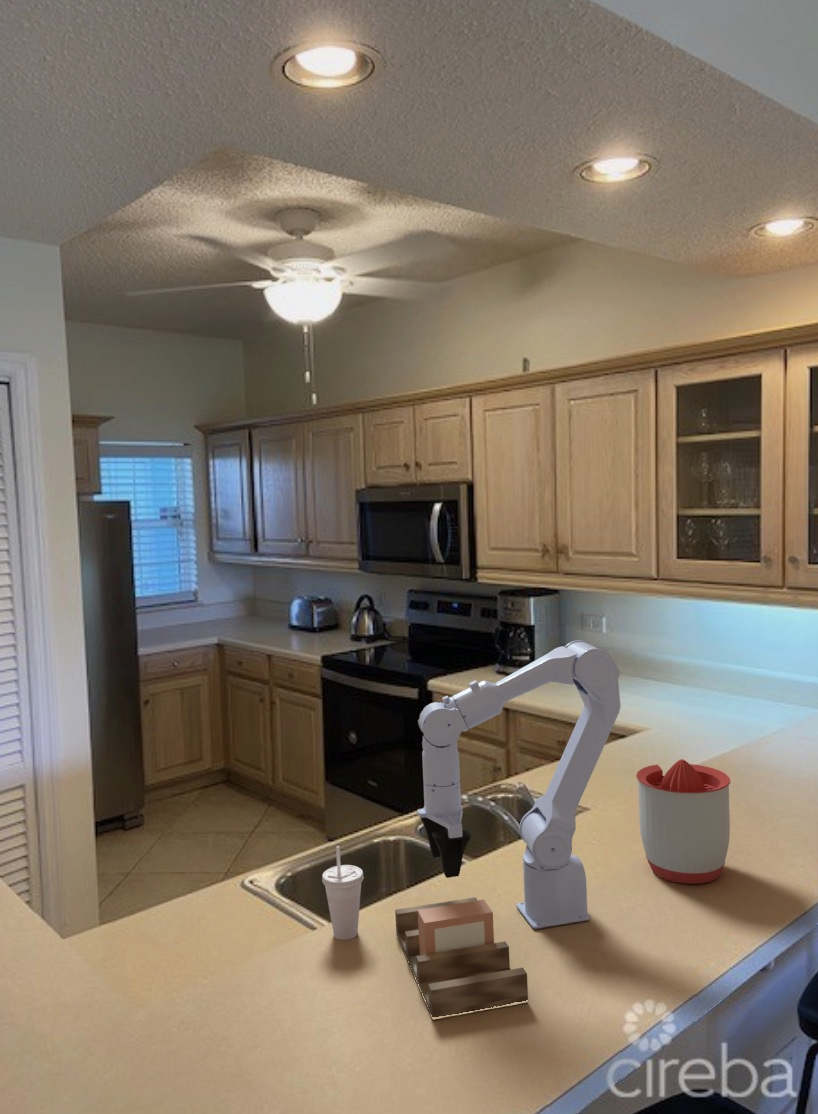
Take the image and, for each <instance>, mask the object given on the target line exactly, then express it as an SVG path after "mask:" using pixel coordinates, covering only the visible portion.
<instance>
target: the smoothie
mask: <svg viewBox="0 0 818 1114" xmlns="http://www.w3.org/2000/svg"><path fill="white" fill-rule="evenodd" d="M340 848H341V847H340V845H336V846H335V851H336V853H335V854H336V865H335V866H331V867H330V868H328V869H326V870H325V871H323V873H322V880H321V882H322V884H323V885H324V886H325V892H326V893H325V894H326V899H327V903H328V904H327V905H328V910H329V915H330V916H329V917H330V921H331V925H332V926H331V927H332V931H333V932H332V933H333V937H334V938H335V939H336V940H341V941H347V940H351V939H354V938H356V936H357V935H358V931H359V918H360V903H361V892H362V891H361V889H362V882H363V881H364V872H363V869H362V868H360V867H359V866H356V865H352V864H342V865H341V849H340Z"/></svg>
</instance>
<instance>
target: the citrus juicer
mask: <svg viewBox="0 0 818 1114" xmlns="http://www.w3.org/2000/svg"><path fill="white" fill-rule="evenodd" d="M635 777H636V779H637V787H638V788H637V789H638V794H637V795H638V818H639V819H638V821H639V831H640V837H641V841H642V846H643V851H644V853H645V858H646V860H647V862H648V864H649V866H650V869H651V871H652V872H653V873H654V874H655V875H657V876H659V877H660V878H662V879H664V880H666V881H668V882H675V883H681V884H691V885H692V884H693V885H694V884H696V885H697V884H704V883H709V882H714V880H717V879H718V878H719V877H720V875H721V873H722V871H723V869H724V866H725V864H726V858H727V855H728V850H729V845H730V833H731V832H730V831H731V824H730V823H731V820H730V787H729V786H730V784H731V779H730V776H728V775H727V774H726V773H725V772H723V771H721V770H720V769H719V770H718V769H716V768H713V767H709V766H705V765H700V764H692V763H689V762H688V761H686V759H682V758H681V759H679V760H678V761H677V760H676V762H675V763H674V764H673V765H672V766H670V768H669V769H668V770H667V771H666V773H665V774H664V772H663V768H661V766H660V765H658V764H654V765H648V766H645V767H642V768H640V769H639V770H638V771H637V773H636V775H635Z"/></svg>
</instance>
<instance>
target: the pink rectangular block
mask: <svg viewBox="0 0 818 1114" xmlns="http://www.w3.org/2000/svg"><path fill="white" fill-rule="evenodd" d="M418 929H419V951H420V956H421V955H427V954H433V953H439V952H445V951H451V950H457V949H462V948H468V947H474V946H480V945H486V944H492V943H495V935H494V934H495V933H494V912H493V910H492V909H491V907H490V906H489V905H488V903H487V902H486V900H485V899H477V901H471V902H464V903H458V904H452V905H446V906H439V907H433V908H427V909H420V910H418Z"/></svg>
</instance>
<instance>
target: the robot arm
mask: <svg viewBox="0 0 818 1114" xmlns="http://www.w3.org/2000/svg"><path fill="white" fill-rule="evenodd" d="M620 676H621V671H620V669H619V668H618V666H617V664H616V662H615V660H614V658H613V657H612V655H611V653H609V652H607V651H606V650H604V649H601V648H597V647H596V646H594V645H592V644H590V643H589V642H588V641H585V640H579V639H578V640H572V641H570V642H568V643H567V644H566V645H564V646H563V645H562V646H559V647H555V648H554V649H551V651H549V652H547V653H546V654H545V655H543V656H541V657H539V658H537V659H535V660H534V661H532V662H530V663H529V664H527V665H525V666H522V667H521V668H520V669H518V670H516V671H515V672H513V673H511V674H509V675H507V676H505V677H504V678H502V679H500V680H498V681H496V682H490V681H489V680H481V681H479V682H478V681H477V680H475V679H474V680H473V681H471V682H469V683H468V686H469V687H468V688H465V689H464V690H461V691H460V692H458V693H456V694H454V695H452V696H450V697H449V696H448V695H445V696H443V697H442V698H441V700H442V702H437V701H435V702H431V703H429V704H428V705H426V706H424V708H423V710H421V712H420V713H419V719H418V720H417V723H418V727H419V729H420V731H421V733H423V735H422V742H421V745H422V753H421V755H422V756H421V757H422V758H421V759H422V778H423V779H422V780H423V800H424V801H423V802H424V806H423V808H419V809H417V810H416V813H417V816H418V817H419V818H420V819H421V823H422V824H423V827H424V829H425V832H426V837H427V839H428V841H427V842H428V845H429V849H430V853H431V855H432V858H440V860H441V866H442V870H443V874H444V877H445V878H446V879H449V878H455V877H459V876H460V873H461V869H462V863H463V857H464V853H465V850H466V848H467V846H468V843H469V841H470V840H471V836H472V835H471V833H470V831H469V829H466V830H463V824H462V819H463V818H462V817H463V806H462V799H461V796H462V795H461V779H460V777H461V776H460V772H461V771H460V754H459V750H458V740H459V738H460V736H461V733H462V732H467V731H469V730H470V729H473V728H474V727H477V726H479V725H480V724H483V723H484V722H486V721H489V720H490V719H493V718H494V717H496V716H498V715H500V714H502V710H503V708H504V705H505V703H506V702H508V701H511V700H512V699H515V698H517V697H520V696H522V695H524V694H526V693H529V692H531V691H533V690H535V689H537V688H540V687H542V686H544V685H547V684H549V683H558V684H564V685H572V686H573V685H575V686H576V689H577V692H578V694H579V695H580V698H581V701H582V702H583V708H582V710H581V713H580V715H579V717H578V719H577V721H576V724H575V726H574V728H573V730H572V733H571V735H570V737H569V739H568V741H567V744H566V746H565V748H564V751H563V753H562V756H561V757H560V760H559V762H558V764H557V766H556V768H555V771H554V772H553V775H552V778H551V780H550V782H549V785H548V787H547V789H546V791H545V793H544V794H543V795H542V796H540V797H538V798H537V799H536V800H535V802H534V805H533V806H532V807H531V809H530V810H528V812H527V813H525V814H524V815H523V816H522V818H521V819H520V823H519V827H518V829H519V830H518V831H519V836H520V837H521V839H522V840H523V842H524V843H525V844H526V846H525V850H524V852H523V856H522V868H523V893H524V901H522V902H518V903H516V908H517V910H518V911H519V912H520V914H521V915H522V916H523V918H524V919H525V920H526V921H527V923H529V924H528V925H530V927H531V928H532V929H534V930H536V929H537V930H538V929H543V928H548V927H555V926H562V925H568V924H573V923H580V922H585V921H589V920H590V916H589V914H588V897H587V896H588V894H587V893H588V892H587V891H588V889H587V876H586V871H585V868H584V863H583V862H582V860H581V859H580V857H579V856H578V855H575V854H572V853H573V837H574V834H575V832H576V829H577V828H576V823H577V822H576V810H577V808H578V806H579V804H580V801H581V799H582V797H583V795H584V793H585V789H586V788H587V785H588V783H589V781H590V779H591V777H592V774H593V772H594V770H595V768H596V766H597V763H598V761H599V758H600V756H601V754H602V752H603V749H604V748H605V745H606V742H608V738H609V736H610V733H611V732H612V729H613V727H614V725H615V723H616V720H617V718H618V715H619V714H620V711H621V699H620V698H621V696H620V686H619V678H620Z"/></svg>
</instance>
